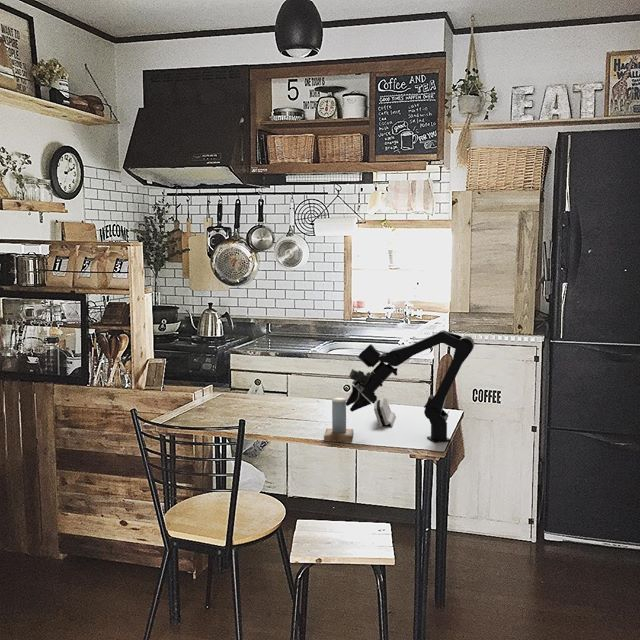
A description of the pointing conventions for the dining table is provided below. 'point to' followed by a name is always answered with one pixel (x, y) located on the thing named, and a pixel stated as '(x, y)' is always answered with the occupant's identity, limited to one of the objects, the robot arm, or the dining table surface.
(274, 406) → the dining table surface
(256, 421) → the dining table surface
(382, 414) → the hinge
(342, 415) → the tin
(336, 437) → the stand
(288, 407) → the dining table surface
